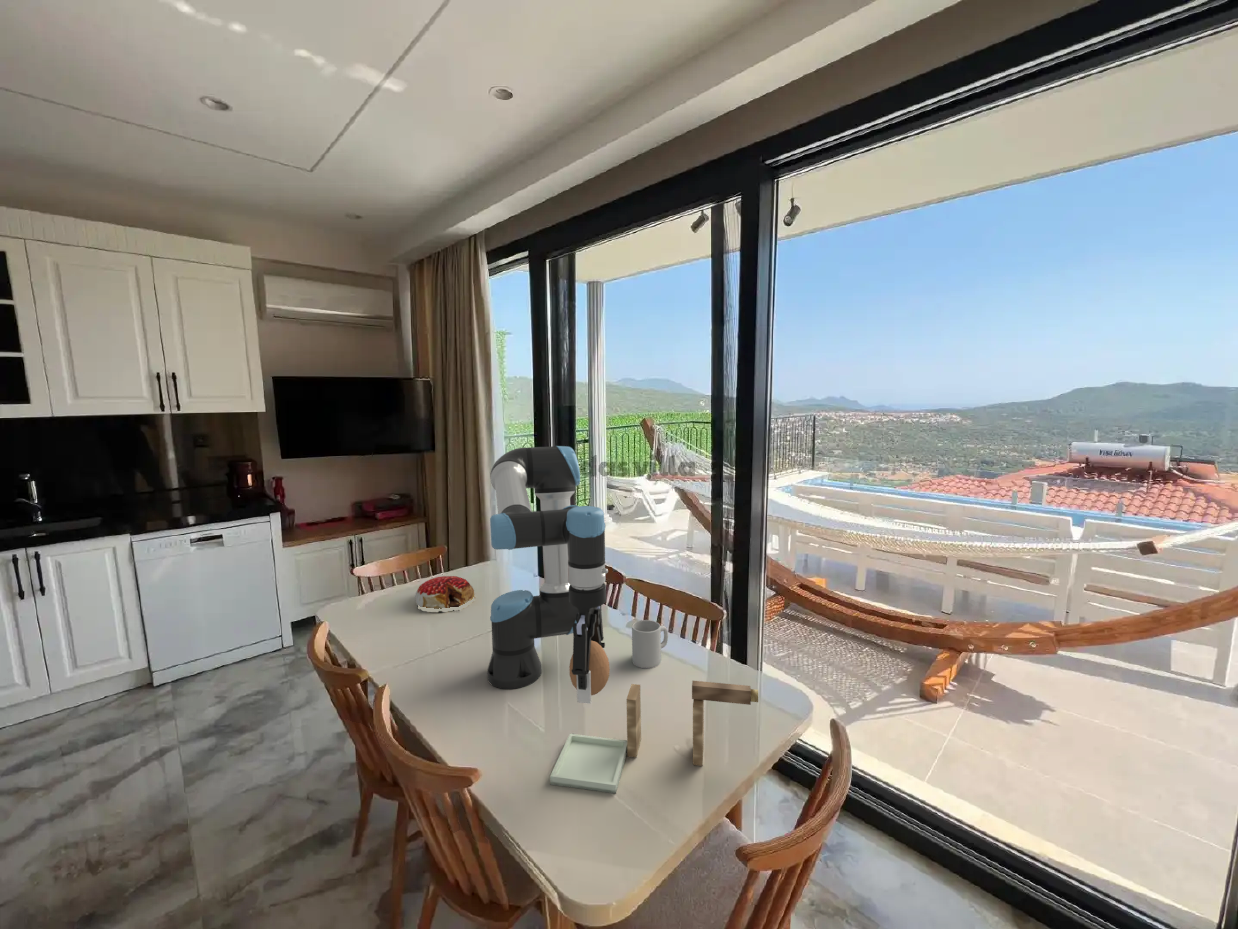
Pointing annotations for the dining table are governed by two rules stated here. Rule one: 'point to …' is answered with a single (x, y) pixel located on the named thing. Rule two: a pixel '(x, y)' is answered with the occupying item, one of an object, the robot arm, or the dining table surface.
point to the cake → (444, 592)
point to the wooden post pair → (635, 725)
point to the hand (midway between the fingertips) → (589, 689)
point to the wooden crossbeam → (724, 692)
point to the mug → (647, 643)
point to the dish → (590, 763)
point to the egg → (595, 668)
